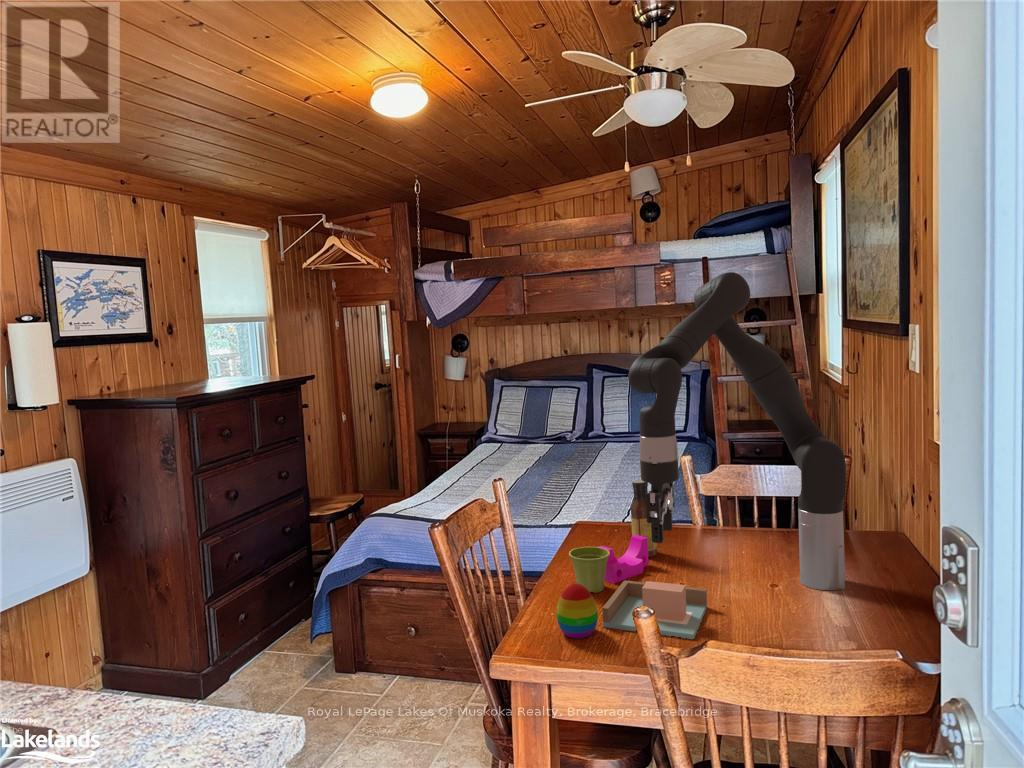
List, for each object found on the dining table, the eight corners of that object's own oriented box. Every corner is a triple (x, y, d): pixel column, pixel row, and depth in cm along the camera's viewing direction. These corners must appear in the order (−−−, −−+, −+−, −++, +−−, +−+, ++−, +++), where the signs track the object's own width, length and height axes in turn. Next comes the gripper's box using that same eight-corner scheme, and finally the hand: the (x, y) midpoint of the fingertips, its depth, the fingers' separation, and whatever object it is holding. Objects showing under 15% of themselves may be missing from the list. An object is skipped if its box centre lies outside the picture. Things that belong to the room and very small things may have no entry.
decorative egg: (591, 644, 130) (589, 593, 130) (551, 639, 134) (549, 589, 133) (603, 626, 138) (601, 578, 137) (565, 622, 141) (563, 575, 140)
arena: (707, 607, 144) (706, 589, 144) (693, 639, 130) (692, 619, 130) (624, 597, 152) (624, 580, 152) (603, 627, 138) (602, 607, 137)
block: (647, 608, 143) (646, 581, 142) (686, 613, 139) (685, 585, 139) (643, 616, 139) (642, 587, 139) (682, 621, 136) (681, 592, 135)
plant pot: (587, 578, 165) (586, 543, 165) (619, 587, 159) (617, 551, 158) (562, 590, 159) (560, 553, 158) (594, 599, 152) (592, 561, 151)
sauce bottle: (660, 552, 181) (657, 479, 180) (652, 559, 176) (649, 484, 175) (637, 549, 185) (634, 477, 183) (628, 556, 180) (625, 482, 178)
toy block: (613, 584, 161) (612, 553, 160) (595, 578, 166) (593, 548, 165) (656, 569, 170) (655, 539, 169) (637, 563, 175) (636, 534, 174)
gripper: (648, 450, 145) (652, 525, 146) (631, 463, 132) (635, 545, 133) (684, 451, 142) (687, 527, 143) (670, 464, 129) (674, 548, 130)
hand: (662, 536), depth 138 cm, fingers open, 8 cm apart
